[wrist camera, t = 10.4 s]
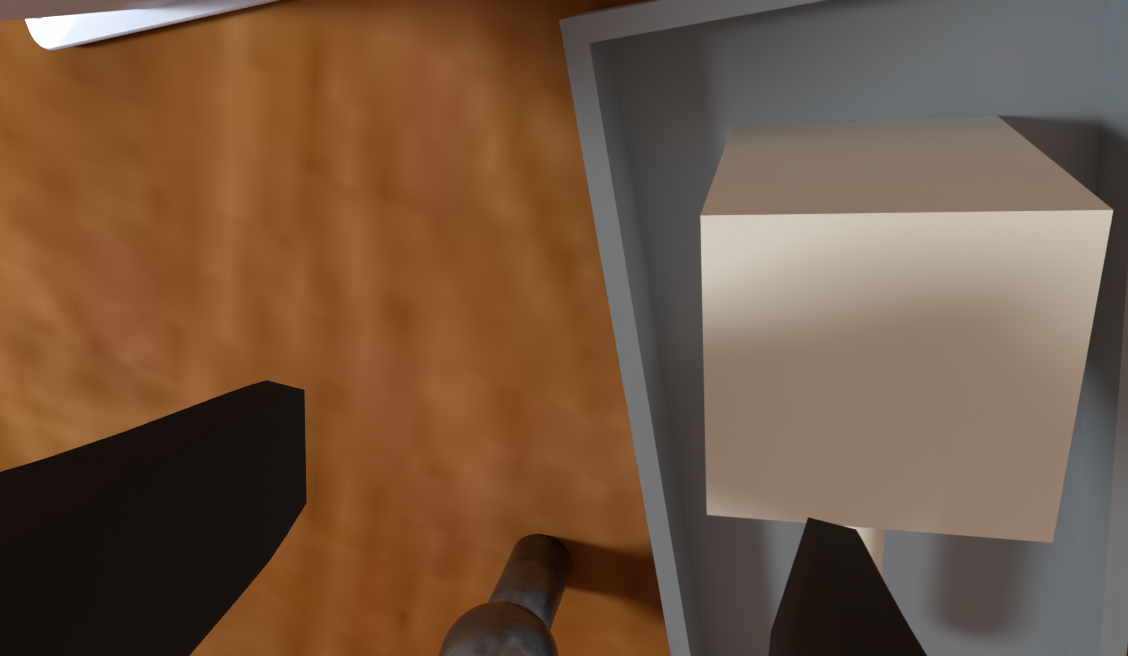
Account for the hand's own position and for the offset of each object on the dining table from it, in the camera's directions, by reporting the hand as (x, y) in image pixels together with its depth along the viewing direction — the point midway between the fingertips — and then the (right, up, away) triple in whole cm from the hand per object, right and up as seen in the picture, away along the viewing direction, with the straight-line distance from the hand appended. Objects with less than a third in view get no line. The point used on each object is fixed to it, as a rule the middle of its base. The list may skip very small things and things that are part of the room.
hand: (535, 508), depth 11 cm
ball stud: (0, -4, +13) cm, 13 cm away
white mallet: (+7, +1, +8) cm, 10 cm away
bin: (+8, 0, +8) cm, 11 cm away
